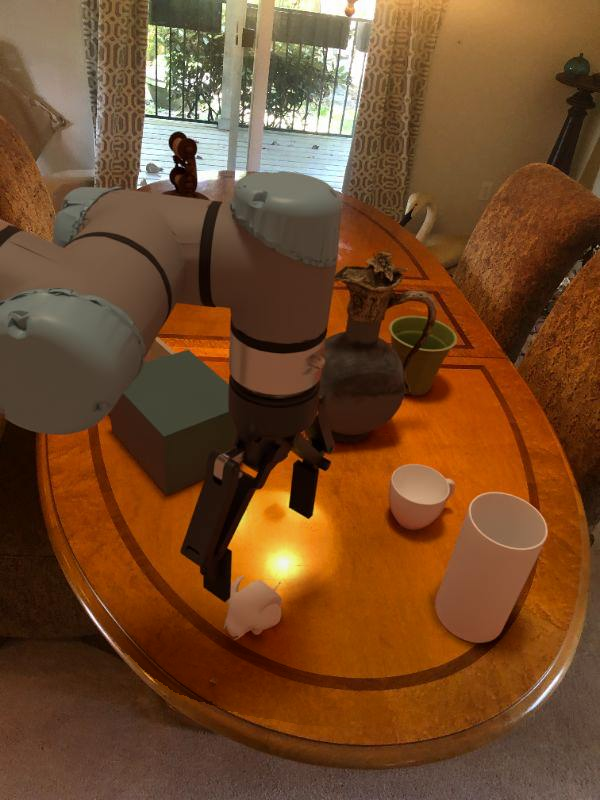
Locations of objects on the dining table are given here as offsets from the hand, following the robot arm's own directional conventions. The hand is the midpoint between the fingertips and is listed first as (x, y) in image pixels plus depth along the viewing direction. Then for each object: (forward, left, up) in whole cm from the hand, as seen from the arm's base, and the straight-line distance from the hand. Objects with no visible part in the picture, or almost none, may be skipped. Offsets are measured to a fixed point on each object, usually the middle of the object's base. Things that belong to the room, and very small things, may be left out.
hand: (261, 549), depth 62 cm
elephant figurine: (0, 0, -13) cm, 13 cm away
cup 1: (+7, +27, -13) cm, 31 cm away
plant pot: (-9, +56, -13) cm, 59 cm away
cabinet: (-28, +16, -13) cm, 35 cm away
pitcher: (-10, +38, -13) cm, 42 cm away
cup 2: (+19, +17, -13) cm, 29 cm away
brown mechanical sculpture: (-101, +92, -13) cm, 138 cm away
